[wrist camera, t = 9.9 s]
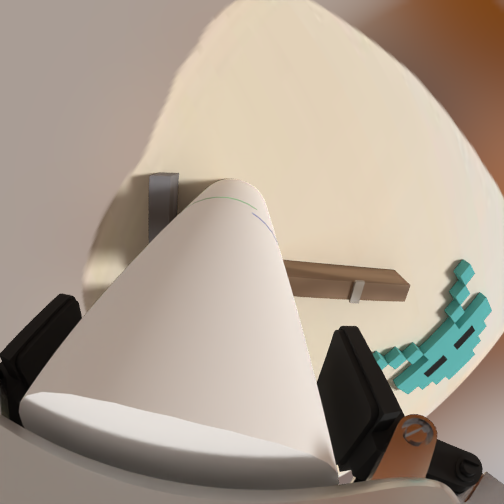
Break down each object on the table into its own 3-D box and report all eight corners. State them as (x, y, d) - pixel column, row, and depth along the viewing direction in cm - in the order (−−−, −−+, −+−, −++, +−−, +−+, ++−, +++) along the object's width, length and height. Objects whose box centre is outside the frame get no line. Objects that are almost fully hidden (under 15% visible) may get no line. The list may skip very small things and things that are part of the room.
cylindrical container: (230, 261, 29) (196, 527, 6) (181, 213, 27) (7, 431, 4) (282, 216, 27) (390, 479, 4) (232, 163, 26) (76, 300, 2)
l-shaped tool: (389, 286, 31) (405, 304, 26) (158, 266, 29) (146, 284, 25) (410, 204, 27) (432, 213, 23) (159, 172, 26) (144, 177, 22)
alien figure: (363, 358, 35) (417, 395, 40) (368, 368, 33) (421, 403, 38) (461, 258, 30) (491, 321, 35) (470, 264, 28) (498, 327, 32)
